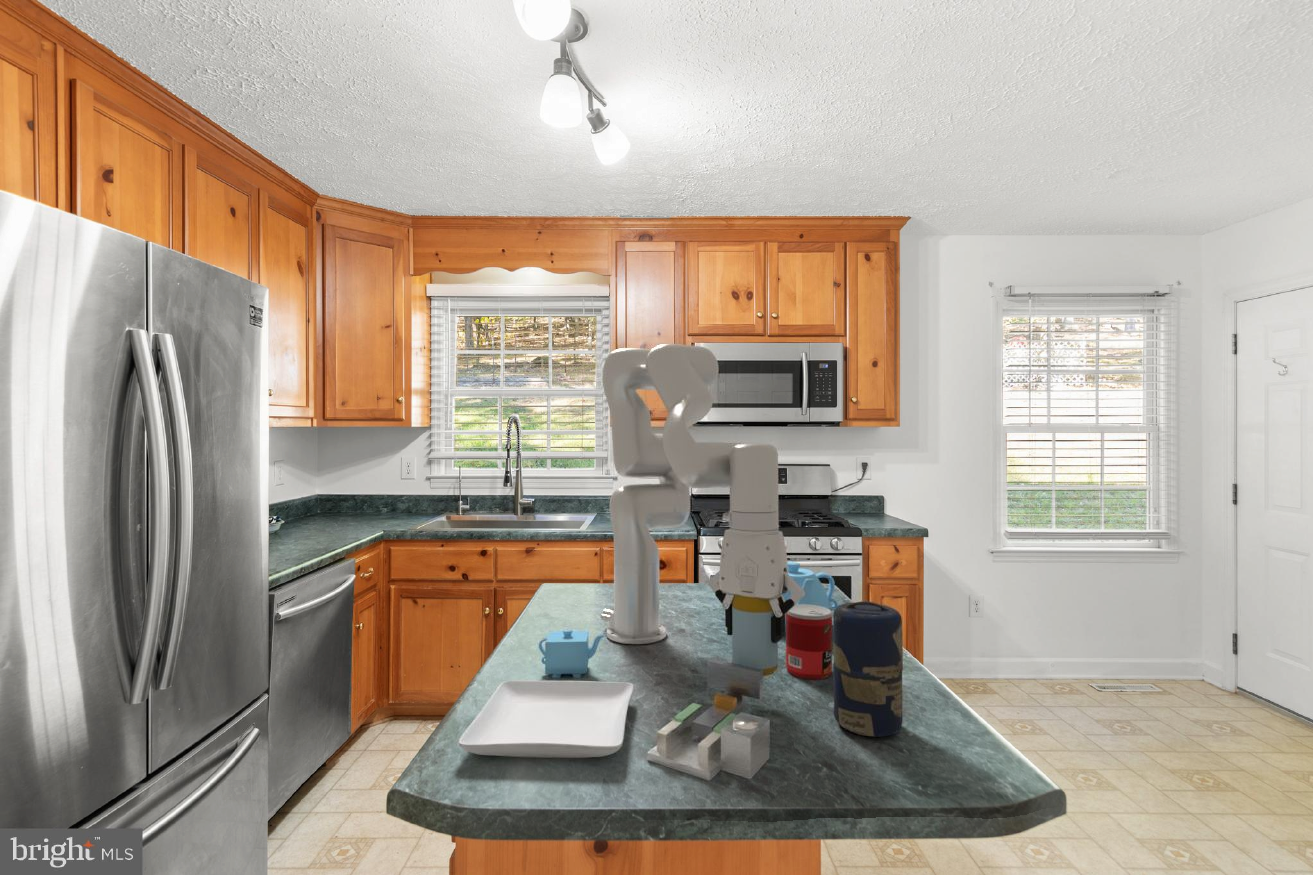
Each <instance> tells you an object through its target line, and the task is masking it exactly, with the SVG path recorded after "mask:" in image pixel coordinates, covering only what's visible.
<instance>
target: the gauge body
mask: <svg viewBox="0 0 1313 875" xmlns="http://www.w3.org/2000/svg"><path fill="white" fill-rule="evenodd" d="M702 708H703V706H702V704H700V703H699V704H698V703H695V702H692V703H690V704H689V705H688V706H686V707H685V708H684V709H683V710H682V711H680V712H678V713H677V714H676V715H675V716H674V717H673V719H672V720H671V721H670V722H668V723H667V724H666V725H664V726H663V727H662V728H661V729H659V730H658V731H657V732H656V745H655V746H654V747H652V748H651V749H650V750H648V751H647V752H646V753H647V756H646V760H647V761H648V762H652V763H655V764H657V765H661V766H664V767H667V768H670V769H673V770H675V771H678V772H680V773H681V772H682V773H685V774H688V775H691V776H693V777H697V778H699V779H702V780H706V781H708V782H710V781H712V779H714V778H715V776H716V775H717V774H718V773H719V772H720V771H722V772H725V773H729V774H732V775H736V776H739V777H742V778H745V779H747V780H751V779H752V778H753V777H754V776H755V775H756V774H757V772H759V770H760V769H761V768H763V766H764V765H765V764H766V762H767V761H768V760H769V759H770V719H769V718H765V717H762V716H758V715H754V714H750V713H747V712H744V713H743V712H740V713H739V714H738V715H737V714H733V713H731V714H730V715H728V716H727V717H726V718H725V719H724V720H723V721H721V722H720V723H719V724H718V725H717V726H716V727H715V728H713V732H712V733H710V734H709V735H708V736H707V737H706V738H705V739H704V738H701V737H698V736H694V735H692V721H694V720H695V719H696V718H697V712H698V711H700V709H702Z"/></svg>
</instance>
